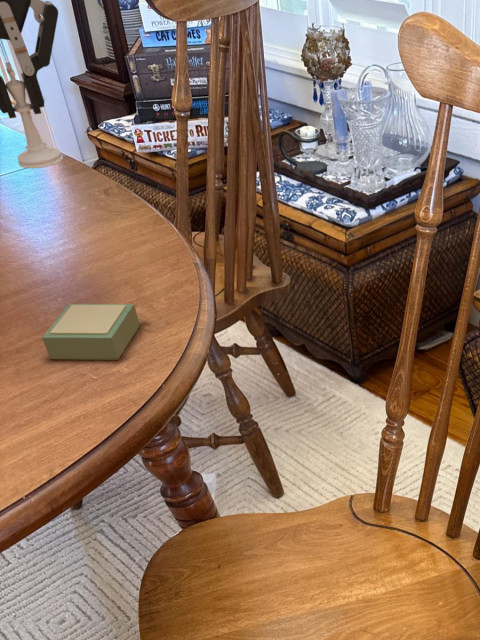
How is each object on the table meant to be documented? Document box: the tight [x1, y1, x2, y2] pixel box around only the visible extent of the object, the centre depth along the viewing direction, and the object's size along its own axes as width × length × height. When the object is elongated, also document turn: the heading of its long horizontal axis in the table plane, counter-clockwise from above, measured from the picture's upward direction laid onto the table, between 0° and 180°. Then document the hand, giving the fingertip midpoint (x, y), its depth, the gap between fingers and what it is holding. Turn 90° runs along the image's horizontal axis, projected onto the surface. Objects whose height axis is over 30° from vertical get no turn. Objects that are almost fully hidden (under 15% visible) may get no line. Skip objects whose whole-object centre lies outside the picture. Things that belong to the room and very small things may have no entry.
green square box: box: [41, 303, 141, 361], centre depth 90 cm, size 8×8×3 cm
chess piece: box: [5, 62, 64, 169], centre depth 87 cm, size 5×5×10 cm
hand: (24, 113), depth 87 cm, fingers closed on chess piece
